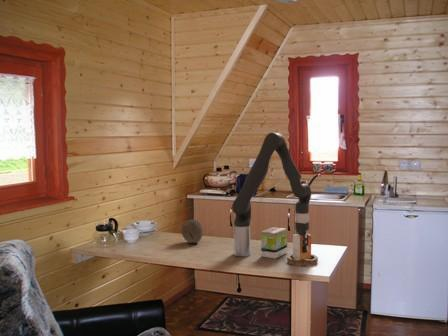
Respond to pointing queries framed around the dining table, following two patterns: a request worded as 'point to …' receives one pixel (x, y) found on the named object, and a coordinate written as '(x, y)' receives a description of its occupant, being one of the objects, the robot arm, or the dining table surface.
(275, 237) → the tea box
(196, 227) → the cantaloupe
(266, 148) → the robot arm
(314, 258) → the tray
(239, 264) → the dining table surface
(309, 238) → the small box
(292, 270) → the dining table surface
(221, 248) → the dining table surface
